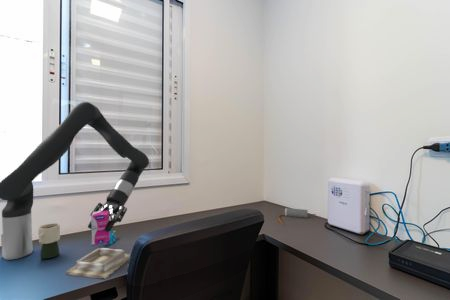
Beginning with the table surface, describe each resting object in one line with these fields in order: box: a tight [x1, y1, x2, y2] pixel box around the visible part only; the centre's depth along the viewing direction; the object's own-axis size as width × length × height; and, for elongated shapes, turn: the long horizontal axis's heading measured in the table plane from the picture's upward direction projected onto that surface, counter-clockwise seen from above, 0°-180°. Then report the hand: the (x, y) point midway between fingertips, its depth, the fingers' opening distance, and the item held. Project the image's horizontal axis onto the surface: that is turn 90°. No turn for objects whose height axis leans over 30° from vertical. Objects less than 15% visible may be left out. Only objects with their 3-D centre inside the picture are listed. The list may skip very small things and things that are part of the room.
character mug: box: [37, 222, 61, 259], centre depth 96 cm, size 11×7×13 cm, turn 2°
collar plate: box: [65, 247, 131, 280], centre depth 89 cm, size 16×16×4 cm
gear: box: [104, 228, 117, 246], centre depth 110 cm, size 11×6×10 cm
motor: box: [277, 207, 317, 226], centre depth 138 cm, size 23×22×5 cm
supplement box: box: [90, 211, 111, 247], centre depth 89 cm, size 6×6×12 cm
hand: (98, 229), depth 88 cm, fingers closed on supplement box, 8 cm apart
